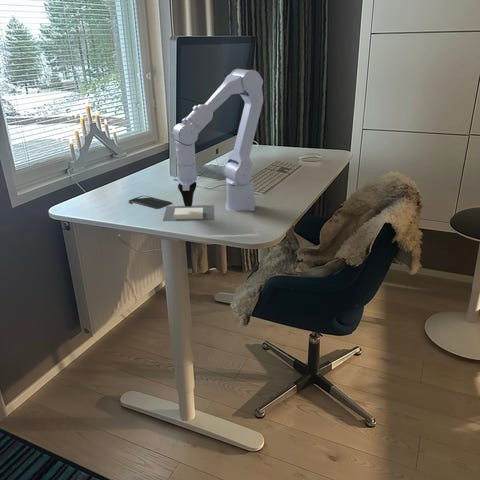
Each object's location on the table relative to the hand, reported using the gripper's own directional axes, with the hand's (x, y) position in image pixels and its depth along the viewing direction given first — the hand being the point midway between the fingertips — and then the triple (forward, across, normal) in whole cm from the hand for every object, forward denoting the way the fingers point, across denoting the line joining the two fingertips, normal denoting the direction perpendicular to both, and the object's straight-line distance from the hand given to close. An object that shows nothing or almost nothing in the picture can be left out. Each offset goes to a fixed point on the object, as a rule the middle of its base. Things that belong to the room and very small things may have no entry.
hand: (188, 205), depth 144 cm
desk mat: (+4, -3, 0) cm, 5 cm away
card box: (+2, -3, 0) cm, 4 cm away
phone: (+4, -15, -14) cm, 21 cm away
